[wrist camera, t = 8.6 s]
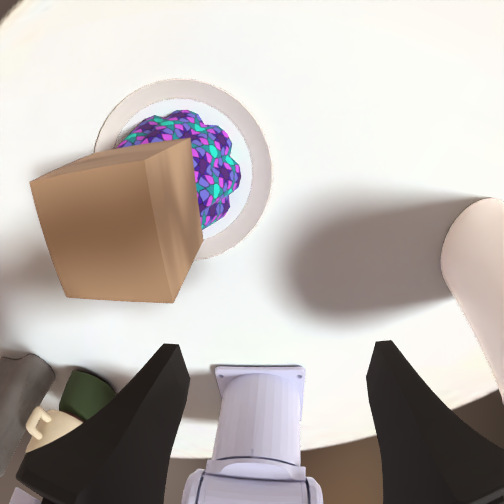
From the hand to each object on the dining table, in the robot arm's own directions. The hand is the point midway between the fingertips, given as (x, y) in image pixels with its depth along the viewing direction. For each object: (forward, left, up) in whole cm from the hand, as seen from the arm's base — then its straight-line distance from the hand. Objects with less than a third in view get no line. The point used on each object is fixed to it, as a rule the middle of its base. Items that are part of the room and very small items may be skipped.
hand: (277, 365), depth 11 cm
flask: (-19, +36, -11) cm, 42 cm away
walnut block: (+5, +6, -6) cm, 10 cm away
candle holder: (-1, -16, -11) cm, 19 cm away
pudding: (+5, +6, -11) cm, 14 cm away
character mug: (-18, +22, -11) cm, 30 cm away
